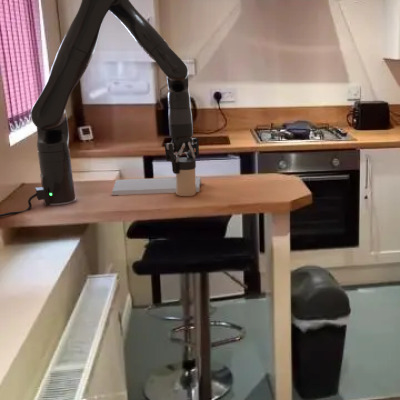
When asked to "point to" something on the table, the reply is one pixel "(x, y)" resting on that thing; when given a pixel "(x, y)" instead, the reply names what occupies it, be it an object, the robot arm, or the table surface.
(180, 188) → the coffee jar
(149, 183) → the crown molding
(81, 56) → the robot arm
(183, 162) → the jar lid
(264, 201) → the table surface
